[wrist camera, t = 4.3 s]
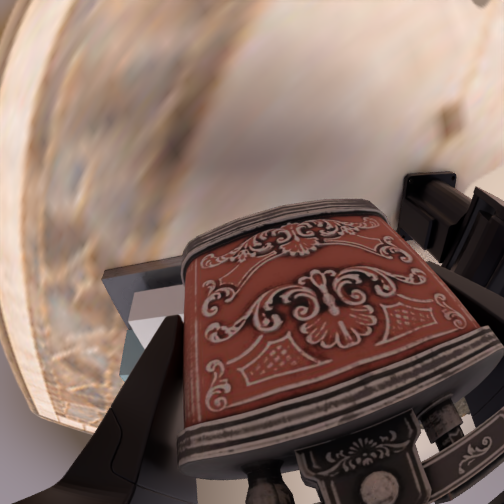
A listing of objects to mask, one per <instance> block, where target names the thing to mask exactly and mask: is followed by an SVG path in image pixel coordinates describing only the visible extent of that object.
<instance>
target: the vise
mask: <svg viewBox="0 0 504 504" xmlns="http://www.w3.org/2000/svg"><path fill="white" fill-rule="evenodd" d="M182 257H183V256H180V257H174V258H169V259H164V260H158V261H153V262H148V263H142V264H137V265H132V266H126V267H121V268H116V269H111V270H105V272H104V274H103V277H102V279H101V280H102V282H103V284H104V286H105V288H106V290H107V291H108V293H109V295H110V297H111V299H112V301H113V303H114V305H115V306H116V308H117V310H118V312H119V314H120V315H121V317H122V319H123V321H124V322H125V324H126V326H127V327H128V329H129V330H133V329H132V327H131V326H130V324H129V322H128V319H129V314H130V310H131V305H132V301H133V297H134V293H135V292H140V291H146V290H152V289H158V288H164V287H170V286H176V285H182V284H183V283H182V278H181V265H182Z"/></svg>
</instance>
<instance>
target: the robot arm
mask: <svg viewBox="0 0 504 504" xmlns="http://www.w3.org/2000/svg"><path fill="white" fill-rule="evenodd" d="M410 179H411V181H410ZM409 181H410V182H409ZM455 183H456V174H455V173H453V172H434V173H418V174H408V175H407V176H406V177H405V180H404V189H403V197H402V205H401V212H400V219H399V225H398V231H397V233H398V234H399V235H400V236H402V235H403V236H402V238H403V239H404V240H405V241H408V240H413V239H414V240H415V241H416V242H417V243H418V244H419V245H420V246H421V247H422V248H423V249H424V250H427V251H428V252H429V253H430V254H431V255H432V256H433V257H434V258H435V259H436V260H437V261H438V262H439V263H442V265H441V266H439V265H437V264H435V263H433V262H430V261H427V262H426V263H427V264H428V265H429V266H430V267H431V269H432V270H433V271H434V272H435V273H436V274H437V275H438V276H439V277H440V279H441V280H442V281H443V282H444V283H445V284H446V285H447V286H448V288H449V289H450V290H451V291H452V292H453V293H454V295H455V296H456V297H457V298H458V299H459V301H460V302H461V303H462V304H463V305H464V307H465V308H466V309H467V310H468V312H469V313H470V314H471V315H472V317H473V318H474V319H475V321H476V322H477V323H478V324H479V326H480V327H484V326H489V327H490V329H491V330H492V331H493V332H494V334H495V335H496V337H497V338H498V339H499V341H500V342H501V343H502V345H503V346H504V201H502V200H501V199H499V198H498V197H495V196H494V195H492V194H490V193H488V192H486V191H484V190H482V189H480V188H478V187H475V190H474V195H473V198H472V199H470V198H469V197H467V196H466V195H464V194H463V193H461V192H460V191H458V190H457V189H455ZM183 328H184V323H183V321H182V318H181V316H180V315H178V314H177V315H170V316H166V317H165V318H164V320H163V321H162V323H161V325H160V326H159V328H158V329H157V331H156V333H155V334H154V336H153V337H152V339H151V340H150V342H149V344H148V345H147V347H146V348H145V350H144V352H143V353H142V355H141V357H140V358H139V360H138V361H137V363H136V365H135V366H134V368H133V370H132V371H131V373H130V375H129V376H128V378H127V380H126V381H125V383H124V385H123V386H122V388H121V390H120V391H119V393H118V395H117V396H116V398H115V400H114V401H113V403H112V405H111V408H109V410H108V411H107V413H106V415H105V417H104V418H103V420H102V422H101V423H100V425H99V426H98V428H97V430H96V431H95V433H94V434H93V436H92V437H91V439H90V440H89V442H88V443H87V445H86V446H85V448H84V449H83V450H82V452H81V453H80V454H79V456H78V457H77V459H76V460H75V461H74V463H73V464H72V466H71V467H70V468H69V470H68V471H67V473H66V474H65V475H64V476H63V478H62V479H61V480H60V481H59V482H57V483H56V484H55V485H54V486H52V487H50V488H48V489H46V490H44V491H41V492H39V493H37V494H35V495H32V496H30V497H27V498H25V499H23V500H20V501H18V502H15V503H12V504H198V501H197V485H196V478H194V477H190V476H187V475H184V474H182V473H181V472H180V471H178V463H177V435H178V433H180V432H181V431H182V430H184V409H183ZM464 398H465V400H466V403H467V405H468V408H469V410H470V413H471V416H472V419H473V421H474V424H475V427H476V428H477V427H478V426H480V425H481V424H482V423H484V422H485V421H486V420H488V419H489V418H490V417H492V416H493V415H494V414H495V413H497V412H498V411H499V410H500V409H501V408H503V407H504V355H503V357H502V359H501V360H500V362H499V363H498V364H497V366H496V367H495V368H494V369H493V370H492V372H491V373H490V374H489V375H488V376H487V377H486V378H485V379H484V380H483V381H482V382H481V383H480V384H479V385H478V386H477V387H476V388H474V389H473V390H472V391H471V392H470V393H468V394H467V395H466V396H465V397H464ZM488 504H504V491H503V492H502V493H500V494H499V495H498V496H497V497H496V498H494V499H493V500H492V501H491V502H490V503H488Z"/></svg>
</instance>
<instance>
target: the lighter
mask: <svg viewBox="0 0 504 504" xmlns="http://www.w3.org/2000/svg"><path fill="white" fill-rule="evenodd" d="M181 278H182V283H183V286H184V287H185V299H184V328H183V409H184V430H182V431H181V432H180V433H178V435H177V463H178V471H180V472H181V473H182V474H184V475H187V476H190V477H194V478H200V479H208V480H236V479H245V478H248V484H249V488H248V492H247V497H246V501H245V503H246V504H295V502H294V498H293V494H292V493H291V491H290V490H289V488H288V487H287V486H286V484H285V483H284V481H283V479H282V475H281V473H286V472H291V471H296V470H300V474H301V478H302V481H303V482H304V484H305V485H306V486H309V487H312V488H315V489H316V491H317V493H318V496H319V498H320V501H321V502H318V503H314V504H430V503H432V502H435V504H439V503H444V502H448V501H451V500H453V499H454V498H456V497H457V496H459V495H460V494H462V493H463V492H465V491H466V490H468V489H469V488H471V487H472V486H473V485H475V484H476V483H477V482H479V481H480V480H481V479H483V478H484V477H485V476H487V475H488V474H489V473H490V472H492V471H493V470H494V469H495V468H497V467H498V466H499V465H500V464H501V463H502V462H504V407H503V408H501V409H500V410H499V411H498V412H497V413H495V414H494V415H493V416H492V417H490V418H489V419H488V420H486V421H485V422H484V423H482V424H481V425H480V426H478V427H477V428H476V429H474V430H473V431H471V432H470V433H468V434H467V435H466V436H464V434H463V432H462V429H461V427H460V425H461V424H462V423H463V421H462V419H461V417H460V415H459V413H458V411H457V409H456V407H455V405H454V404H455V403H456V402H458V401H459V400H460V399H462V398H463V397H465V396H466V395H467V394H468V393H470V392H471V391H472V390H473V389H474V388H476V387H477V386H478V385H479V384H480V383H481V382H482V381H483V380H484V379H485V378H486V377H487V376H488V375H489V374H490V373H491V372H492V370H493V369H494V368H495V367H496V366H497V364H498V363H499V362H500V360H501V359H502V357H503V355H504V346H503V345H502V343H501V342H500V341H499V339H498V338H497V337H496V335H495V334H494V332H493V331H492V330H491V329H490V327H489V326H484V327H480V326H479V324H478V323H477V322H476V321H475V319H474V318H473V317H472V315H471V314H470V313H469V312H468V310H467V309H466V308H465V307H464V305H463V304H462V303H461V302H460V301H459V299H458V298H457V297H456V296H455V295H454V293H453V292H452V291H451V290H450V289H449V288H448V286H447V285H446V284H445V283H444V282H443V281H442V280H441V279H440V277H439V276H438V275H437V274H436V273H435V272H434V271H433V270H432V269H431V267H430V266H429V265H428V264H427V263H426V262H425V261H424V260H423V259H422V258H421V257H420V256H419V255H418V254H417V253H416V252H415V251H414V250H413V248H412V247H411V246H410V245H409V244H408V243H407V242H406V241H405V240H404V239H403V238H402V237H401V236H400V235H399V234H398V233H397V232H396V231H394V230H393V229H392V228H391V227H390V223H389V221H388V218H387V216H386V215H385V214H384V213H382V212H381V211H380V210H379V209H378V208H377V207H376V206H375V205H373V204H372V203H371V202H370V201H368V200H363V199H324V200H317V201H310V202H303V203H296V204H289V205H283V206H279V207H275V208H272V209H269V210H265V211H262V212H258V213H255V214H252V215H248V216H245V217H242V218H238V219H236V220H233V221H231V222H229V223H226V224H224V225H222V226H219V227H217V228H215V229H213V230H210V231H208V232H206V233H203V234H201V235H199V236H197V237H196V238H194V239H193V240H191V241H190V242H189V243H188V244H187V246H186V248H185V249H184V251H183V257H182V265H181ZM420 424H422V425H423V427H424V429H425V432H426V434H427V436H428V438H429V440H430V443H431V444H432V443H434V442H435V443H436V445H437V447H438V449H439V453H437V454H435V455H433V456H432V457H430V458H428V459H427V460H424V461H422V462H421V461H420V458H419V455H418V451H417V448H416V445H415V443H416V441H417V439H418V437H419V435H420V434H421V429H420Z"/></svg>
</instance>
